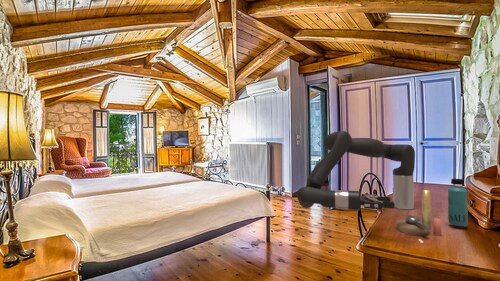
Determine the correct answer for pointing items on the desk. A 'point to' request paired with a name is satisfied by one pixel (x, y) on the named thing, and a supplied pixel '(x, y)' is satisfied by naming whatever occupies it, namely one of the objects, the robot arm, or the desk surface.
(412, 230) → the crank plinth
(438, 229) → the post
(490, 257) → the desk surface
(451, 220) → the beverage bottle
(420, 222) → the crank
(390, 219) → the desk surface
